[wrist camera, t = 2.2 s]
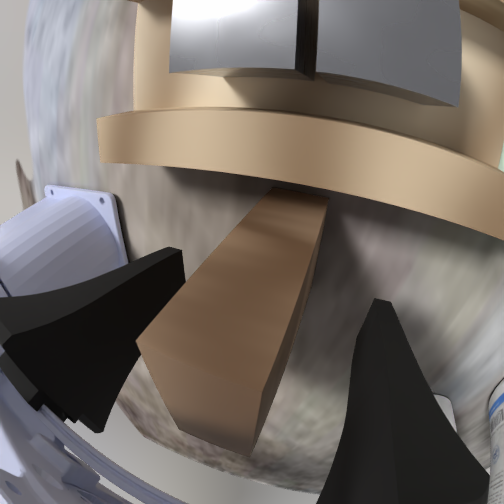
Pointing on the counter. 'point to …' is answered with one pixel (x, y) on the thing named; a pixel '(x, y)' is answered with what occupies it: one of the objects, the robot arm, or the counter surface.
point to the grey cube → (244, 38)
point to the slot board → (325, 126)
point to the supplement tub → (497, 445)
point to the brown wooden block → (237, 322)
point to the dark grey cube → (393, 48)
